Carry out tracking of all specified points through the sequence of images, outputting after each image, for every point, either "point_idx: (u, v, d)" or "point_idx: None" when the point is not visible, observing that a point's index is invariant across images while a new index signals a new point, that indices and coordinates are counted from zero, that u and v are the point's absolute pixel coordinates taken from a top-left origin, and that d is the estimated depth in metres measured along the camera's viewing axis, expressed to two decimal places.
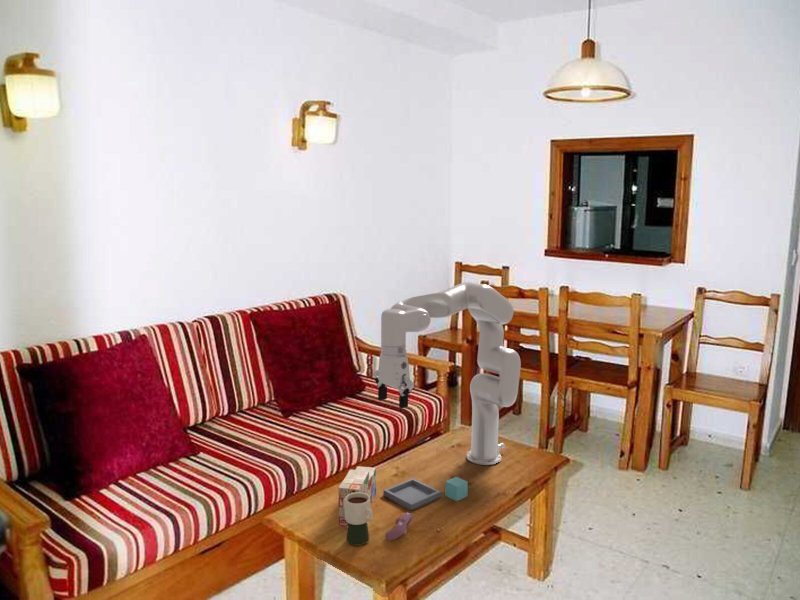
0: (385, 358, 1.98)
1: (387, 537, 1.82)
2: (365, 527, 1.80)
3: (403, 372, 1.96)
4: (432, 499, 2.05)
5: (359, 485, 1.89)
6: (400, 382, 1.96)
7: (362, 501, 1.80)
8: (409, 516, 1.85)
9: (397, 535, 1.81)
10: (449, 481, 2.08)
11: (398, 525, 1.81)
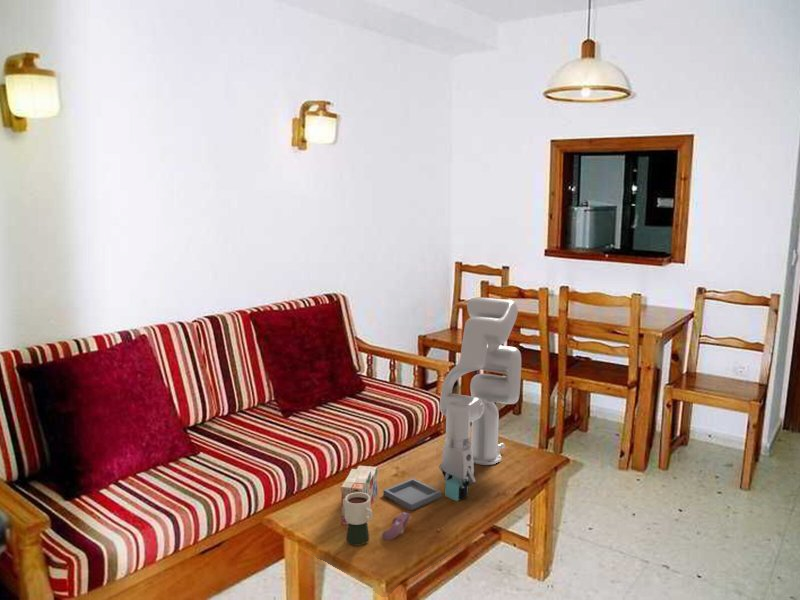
0: (450, 450, 2.05)
1: (384, 537, 1.82)
2: (365, 527, 1.80)
3: (468, 464, 2.03)
4: (432, 499, 2.05)
5: (362, 484, 1.90)
6: None
7: (362, 501, 1.80)
8: (406, 515, 1.85)
9: (394, 534, 1.81)
10: (449, 481, 2.08)
11: (395, 525, 1.82)
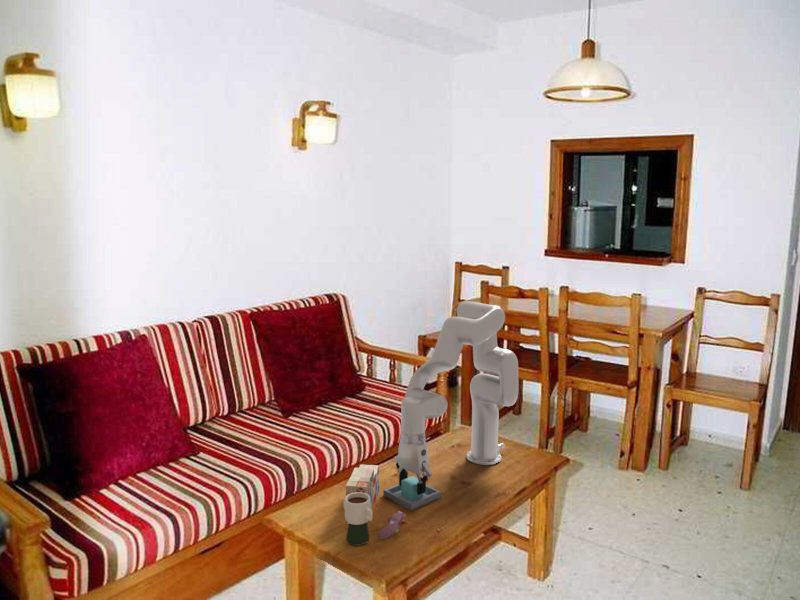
0: (405, 445, 2.04)
1: (379, 536, 1.83)
2: (365, 527, 1.80)
3: (422, 459, 2.02)
4: (432, 499, 2.05)
5: (366, 483, 1.91)
6: (419, 470, 2.02)
7: (362, 501, 1.80)
8: (401, 515, 1.86)
9: (389, 534, 1.82)
10: (405, 480, 2.07)
11: (390, 524, 1.82)
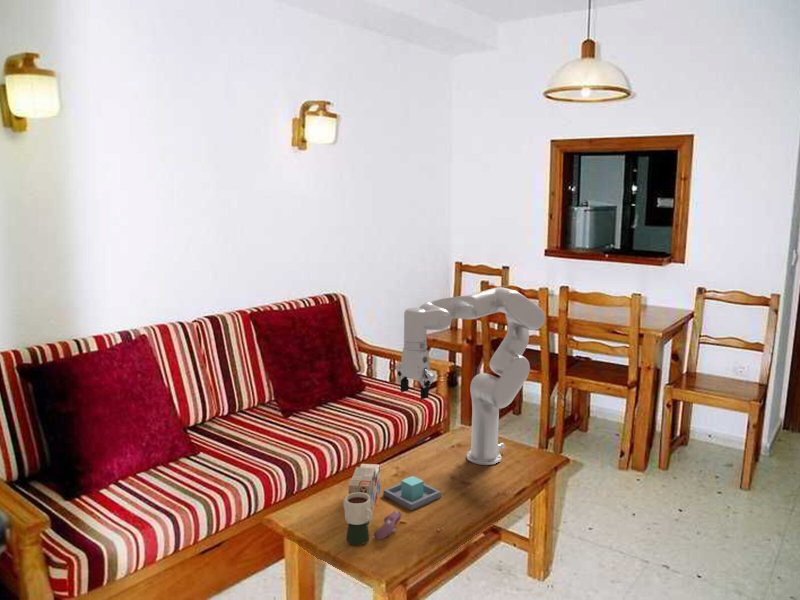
0: (407, 353, 2.16)
1: (376, 535, 1.83)
2: (365, 527, 1.80)
3: (424, 366, 2.14)
4: (432, 499, 2.05)
5: (368, 482, 1.91)
6: (421, 375, 2.14)
7: (362, 501, 1.80)
8: (397, 514, 1.86)
9: (386, 533, 1.82)
10: (405, 480, 2.07)
11: (387, 523, 1.82)
